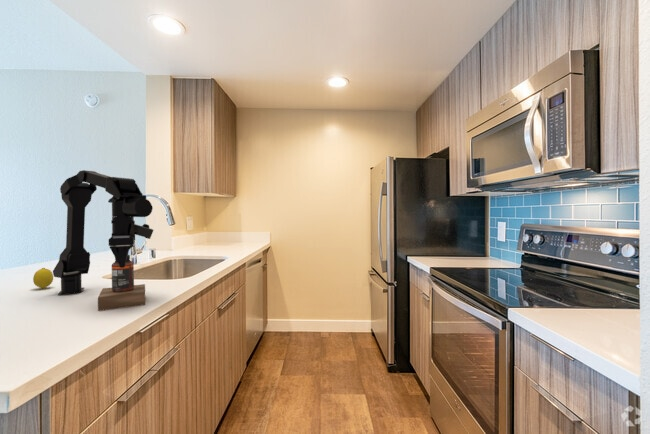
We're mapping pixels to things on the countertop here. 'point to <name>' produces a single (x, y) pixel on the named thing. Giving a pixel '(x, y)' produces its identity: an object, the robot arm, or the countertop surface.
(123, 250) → the robot arm
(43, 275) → the lemon
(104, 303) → the walnut block
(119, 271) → the supplement bottle
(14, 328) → the countertop surface
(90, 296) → the countertop surface
